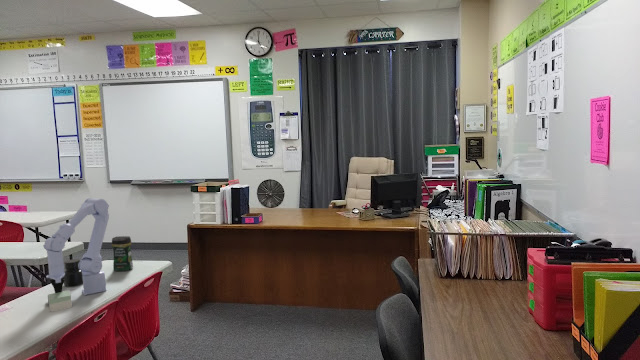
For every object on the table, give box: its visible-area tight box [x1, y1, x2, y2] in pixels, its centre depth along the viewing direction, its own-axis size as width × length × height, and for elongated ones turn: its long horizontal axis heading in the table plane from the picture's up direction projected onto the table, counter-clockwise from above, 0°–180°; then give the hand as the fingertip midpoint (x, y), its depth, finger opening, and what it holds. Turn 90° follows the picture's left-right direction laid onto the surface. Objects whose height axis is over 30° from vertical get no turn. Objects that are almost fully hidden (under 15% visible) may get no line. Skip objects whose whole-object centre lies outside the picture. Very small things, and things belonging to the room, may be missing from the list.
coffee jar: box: [111, 235, 134, 272], centre depth 244 cm, size 10×8×19 cm
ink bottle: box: [63, 258, 83, 288], centre depth 221 cm, size 10×9×12 cm
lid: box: [47, 290, 72, 305], centre depth 192 cm, size 8×8×2 cm
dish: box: [48, 299, 73, 313], centre depth 191 cm, size 8×8×3 cm
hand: (58, 294), depth 196 cm, fingers closed
